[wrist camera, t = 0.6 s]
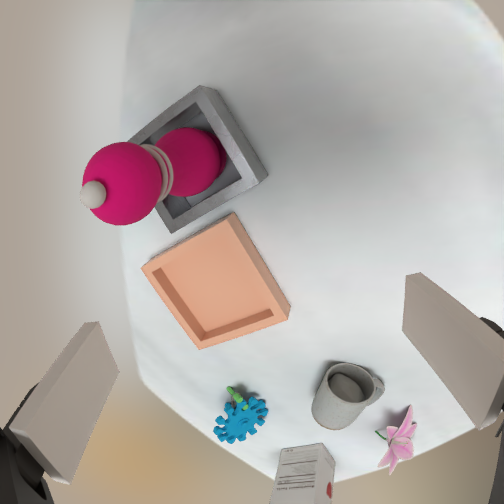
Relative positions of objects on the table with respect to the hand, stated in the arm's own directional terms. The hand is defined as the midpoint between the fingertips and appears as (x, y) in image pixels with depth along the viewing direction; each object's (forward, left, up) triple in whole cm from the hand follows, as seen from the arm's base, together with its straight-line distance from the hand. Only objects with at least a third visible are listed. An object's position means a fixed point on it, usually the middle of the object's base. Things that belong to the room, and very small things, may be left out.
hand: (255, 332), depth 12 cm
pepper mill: (-9, -8, -25) cm, 27 cm away
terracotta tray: (+5, -15, -24) cm, 29 cm away
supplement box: (+47, -21, -25) cm, 57 cm away
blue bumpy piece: (+27, -24, -25) cm, 44 cm away
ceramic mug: (+28, -6, -25) cm, 38 cm away
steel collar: (-9, -8, -24) cm, 27 cm away
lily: (+43, -2, -25) cm, 50 cm away
